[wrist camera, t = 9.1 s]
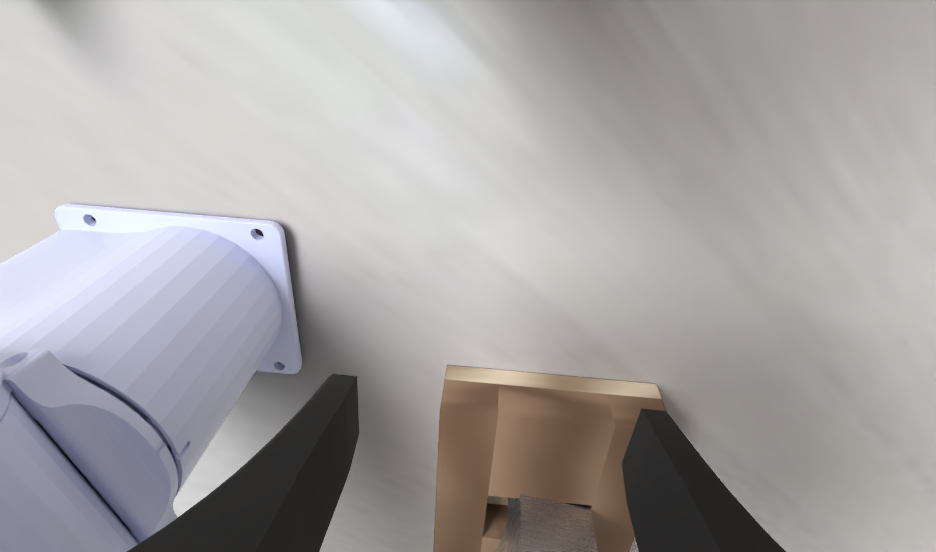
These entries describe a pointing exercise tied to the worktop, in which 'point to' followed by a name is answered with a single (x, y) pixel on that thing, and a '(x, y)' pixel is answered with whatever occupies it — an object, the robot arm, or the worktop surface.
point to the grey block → (547, 527)
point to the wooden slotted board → (533, 451)
